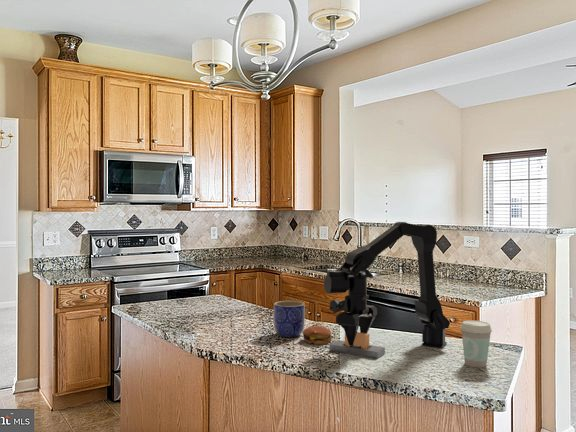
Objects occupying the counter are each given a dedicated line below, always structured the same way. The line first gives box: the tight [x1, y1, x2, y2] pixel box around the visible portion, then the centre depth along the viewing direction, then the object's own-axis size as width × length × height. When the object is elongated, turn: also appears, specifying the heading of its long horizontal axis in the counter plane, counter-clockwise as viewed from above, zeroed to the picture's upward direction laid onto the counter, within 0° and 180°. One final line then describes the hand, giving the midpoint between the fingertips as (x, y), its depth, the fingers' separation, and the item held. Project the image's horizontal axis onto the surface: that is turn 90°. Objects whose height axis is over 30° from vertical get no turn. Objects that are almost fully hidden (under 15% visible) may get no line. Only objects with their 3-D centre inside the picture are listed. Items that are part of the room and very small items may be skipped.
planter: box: [273, 300, 306, 338], centre depth 180 cm, size 11×11×11 cm
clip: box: [344, 331, 370, 349], centre depth 159 cm, size 7×2×6 cm, turn 58°
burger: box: [302, 325, 333, 346], centre depth 173 cm, size 10×9×5 cm
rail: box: [329, 339, 386, 359], centre depth 159 cm, size 16×6×2 cm, turn 58°
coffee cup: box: [459, 319, 493, 368], centre depth 147 cm, size 9×9×12 cm
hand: (357, 341), depth 159 cm, fingers open, 9 cm apart
